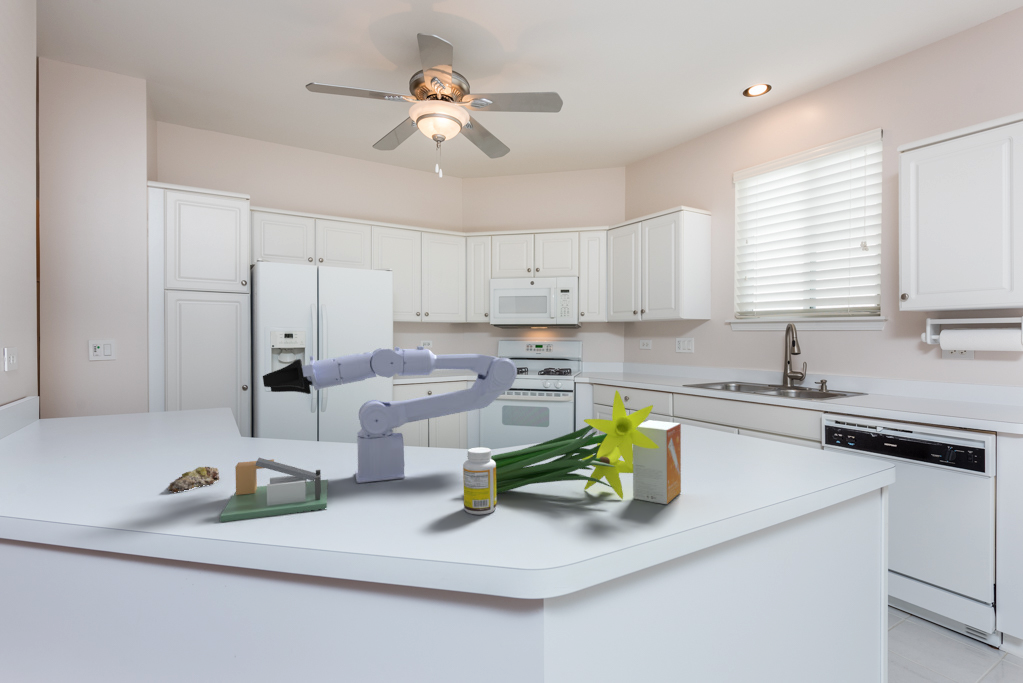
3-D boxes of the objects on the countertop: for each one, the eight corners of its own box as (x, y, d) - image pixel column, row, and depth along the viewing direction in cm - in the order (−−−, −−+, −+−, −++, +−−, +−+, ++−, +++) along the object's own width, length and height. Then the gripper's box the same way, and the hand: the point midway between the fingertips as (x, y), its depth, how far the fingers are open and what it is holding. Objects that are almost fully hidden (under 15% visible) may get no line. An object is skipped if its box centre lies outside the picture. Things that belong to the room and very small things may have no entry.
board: (327, 484, 99) (327, 459, 99) (326, 509, 85) (326, 480, 85) (237, 494, 94) (237, 467, 94) (220, 522, 80) (219, 491, 80)
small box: (667, 505, 85) (666, 429, 85) (632, 498, 89) (631, 426, 89) (682, 492, 92) (681, 422, 91) (648, 487, 95) (647, 419, 95)
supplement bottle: (482, 502, 88) (481, 444, 88) (503, 509, 84) (502, 449, 84) (457, 510, 84) (456, 449, 84) (477, 518, 80) (477, 455, 80)
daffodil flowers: (492, 479, 104) (658, 438, 98) (490, 540, 92) (680, 498, 86) (462, 421, 96) (641, 373, 90) (454, 479, 83) (662, 428, 77)
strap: (319, 478, 91) (321, 474, 91) (318, 483, 88) (320, 478, 88) (257, 461, 87) (259, 457, 88) (254, 465, 84) (256, 461, 85)
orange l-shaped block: (274, 486, 95) (273, 459, 95) (272, 491, 92) (272, 463, 92) (239, 490, 93) (238, 462, 93) (236, 495, 90) (235, 466, 90)
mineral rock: (193, 467, 106) (225, 457, 105) (199, 486, 106) (231, 477, 105) (149, 483, 96) (184, 474, 94) (156, 505, 96) (191, 496, 94)
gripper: (337, 358, 109) (270, 370, 105) (334, 344, 96) (256, 357, 91) (343, 389, 108) (275, 402, 104) (340, 380, 95) (262, 395, 90)
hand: (267, 384), depth 97 cm, fingers open, 7 cm apart
